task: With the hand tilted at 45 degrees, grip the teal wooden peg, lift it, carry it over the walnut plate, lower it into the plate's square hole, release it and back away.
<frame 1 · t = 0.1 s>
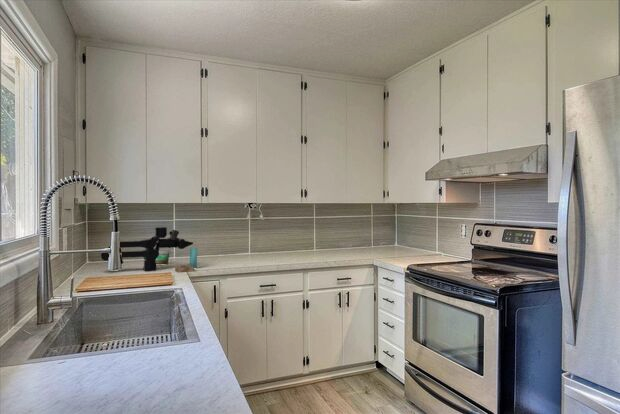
hand: (190, 242, 251), 17 cm above the worktop, tool horizontal, fingers open, 9 cm apart
peg: (193, 268, 248), on the worktop
food container: (160, 265, 263), on the worktop
socket plate: (184, 270, 237), on the worktop
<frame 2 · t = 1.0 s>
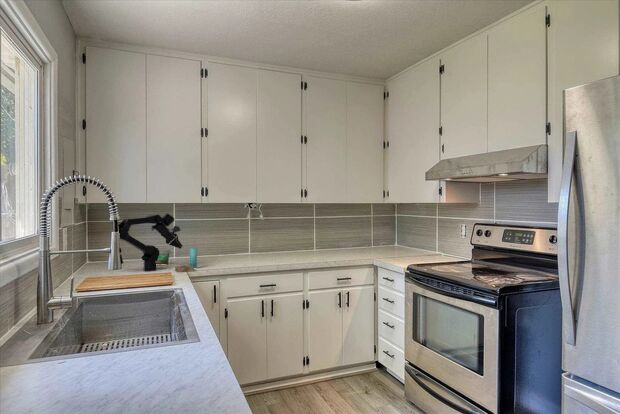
hand: (181, 247, 247), 14 cm above the worktop, tool tilted 45°, fingers open, 9 cm apart
nothing on the worktop moved.
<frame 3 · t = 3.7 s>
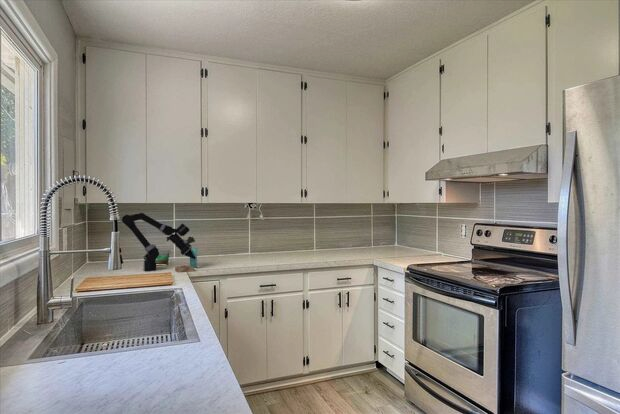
hand: (195, 258, 249), 7 cm above the worktop, tool tilted 45°, fingers closed on peg, 4 cm apart
peg: (193, 268, 248), on the worktop, touching gripper
everything else where it was.
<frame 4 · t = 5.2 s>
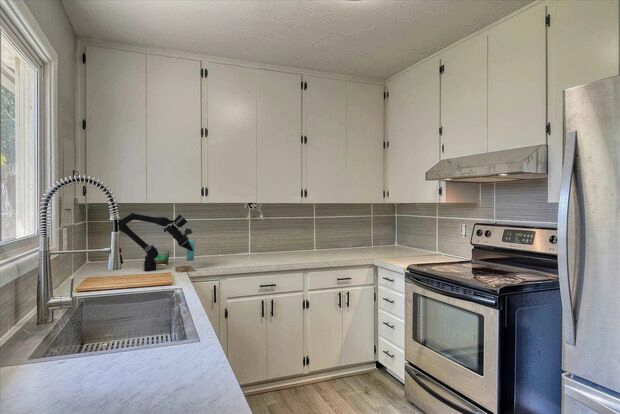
hand: (192, 250, 245), 12 cm above the worktop, tool tilted 45°, fingers closed on peg, 4 cm apart
peg: (190, 260, 245), point 6 cm above the worktop, touching gripper
everything else where it was.
when the fingers open (8 cm above the worktop, at t = 7.1 s): peg drops 1 cm, resting in socket plate.
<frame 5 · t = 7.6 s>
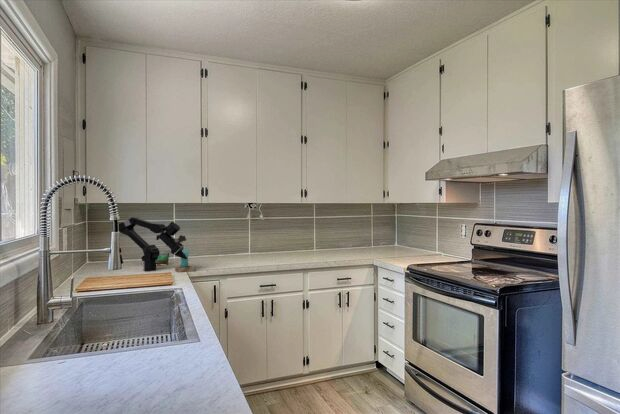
hand: (186, 257, 238), 8 cm above the worktop, tool tilted 45°, fingers open, 9 cm apart
peg: (184, 270, 237), resting in socket plate
everything else where it was.
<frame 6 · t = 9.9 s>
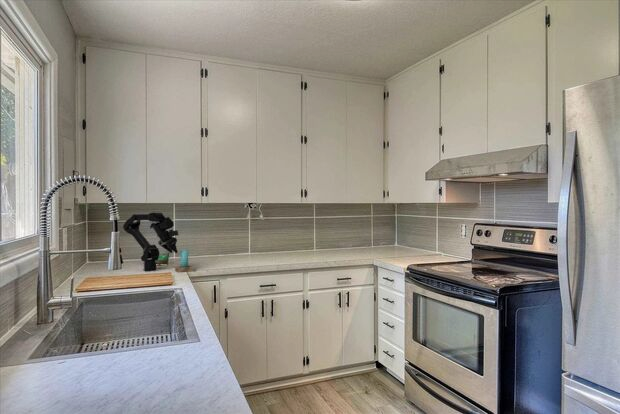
hand: (174, 252, 239), 11 cm above the worktop, tool tilted 30°, fingers open, 9 cm apart
nothing on the worktop moved.
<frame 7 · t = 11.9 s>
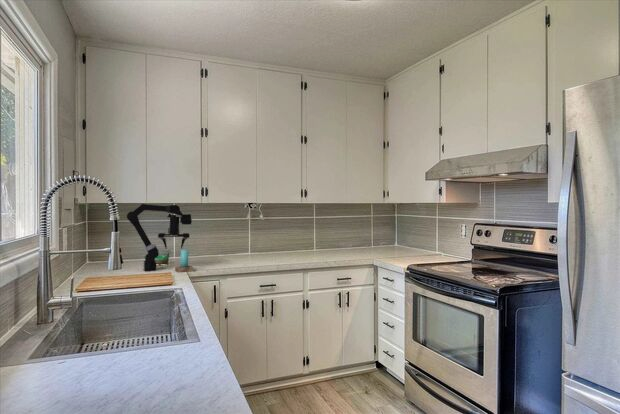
hand: (173, 248, 243), 13 cm above the worktop, tool pointing down, fingers open, 9 cm apart
nothing on the worktop moved.
at the end: peg 0.1 cm off-centre on the socket plate, point 0.0 cm above the socket plate's base; peg tilted 0°; the gripper is holding nothing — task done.
